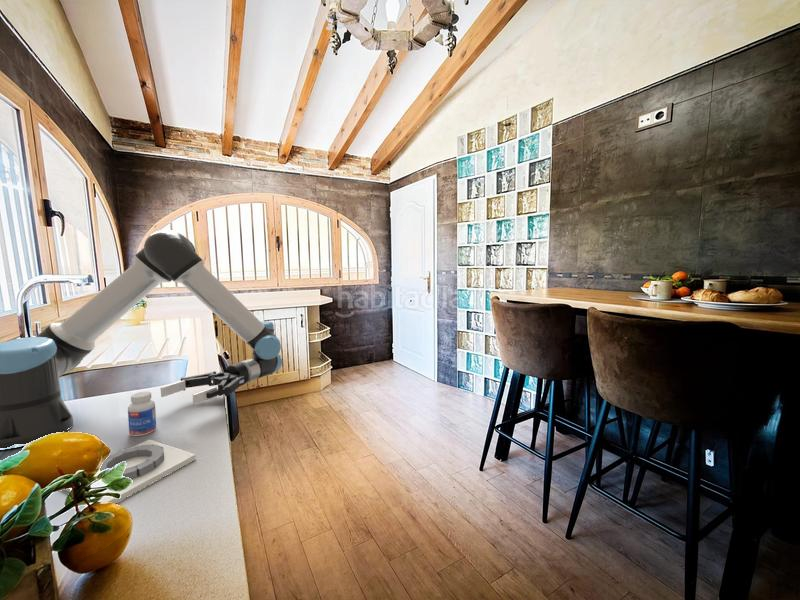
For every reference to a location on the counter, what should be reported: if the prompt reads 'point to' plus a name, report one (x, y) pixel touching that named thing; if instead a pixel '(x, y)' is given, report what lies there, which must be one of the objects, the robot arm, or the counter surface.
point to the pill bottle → (141, 414)
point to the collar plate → (156, 474)
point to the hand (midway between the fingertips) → (177, 395)
